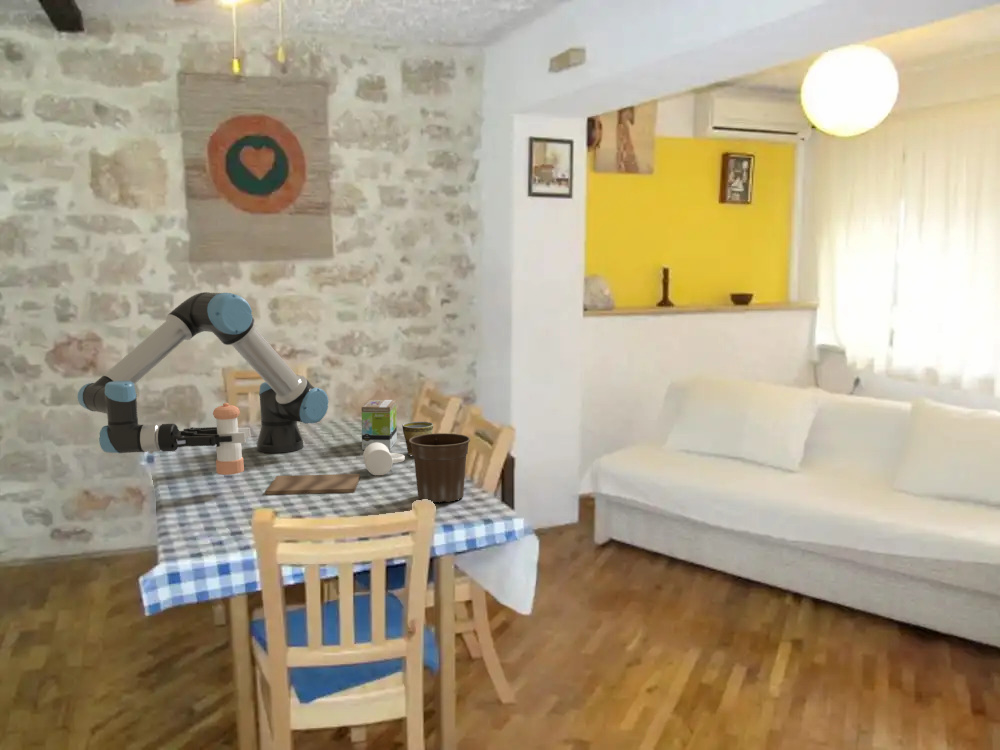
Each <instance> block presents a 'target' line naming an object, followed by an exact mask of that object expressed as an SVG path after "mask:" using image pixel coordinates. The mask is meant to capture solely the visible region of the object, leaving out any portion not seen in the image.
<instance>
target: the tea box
mask: <svg viewBox="0 0 1000 750" xmlns="http://www.w3.org/2000/svg"><path fill="white" fill-rule="evenodd" d="M397 414H398V413H397V400H396V399H369V400H367V401H366V402H365V403H364V404H363V405H362V406H361V450H365V449H366V447H367V446H368V445H370V444H372V443H376V442H378V443H382V444H384V445H385V446H386V447H387V448H388V450H389V451H390V450H391V449H392V447H393V446H394V445H395V443H396V442H397V439H398V435H397V434H398V433H397V432H398V431H397V430H398V427H397V422H398V421H397V420H398V419H397V418H398V417H397Z"/></svg>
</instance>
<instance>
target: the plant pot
mask: <svg viewBox="0 0 1000 750" xmlns="http://www.w3.org/2000/svg"><path fill="white" fill-rule="evenodd" d="M409 442H410V443H411V446H412V454H413V456H414V457H413V460H414V469H415V470H414V471H415V478H416V480H415V481H416V488H417V497H418V500H420V499H428V500H431V501H433V502H439V503H438V504H441V503H443V502H446V503H451V502H450V501H454V502H456V501H455V500H458V499H460V498H462V497H463V498H464V492H465V490H464V489H465V479H466V478H465V477H466V466H467V455H468V453H469V443H470V442H471V437H470V436H468V435H464V434H458V433H449V432H448V433H447V432H446V433H443V432H441V433H440V432H439V433H437V432H436V433H432V434H425V435H419V436H415V437H412V438H410V440H409ZM463 498H462V499H463ZM460 500H461V499H460ZM458 501H459V500H458ZM440 502H441V503H440Z"/></svg>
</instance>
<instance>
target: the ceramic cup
mask: <svg viewBox="0 0 1000 750" xmlns="http://www.w3.org/2000/svg"><path fill="white" fill-rule="evenodd" d="M401 427H402V433H403V437H404V440H405V444H406V449H407V455H408V456H409V455H412V456H413V454H412V446H411V443H410V442H409V440H410V438H412V437H415V436H419V435H425V434H433V430H434V423H432V422H429V421H409V422H405V423H403V424H402V426H401Z"/></svg>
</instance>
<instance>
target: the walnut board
mask: <svg viewBox="0 0 1000 750" xmlns="http://www.w3.org/2000/svg"><path fill="white" fill-rule="evenodd" d="M360 478H361V474H360V473H340V474H339V473H337V474H335V473H334V474H301V475H299V474H298V475H276V477H275V478H274V480H273V481H272V482H271V483H270V485H269V486H268V487H267V489H266V490H265V494H267V495H296V494H297V495H299V494H300V495H301V494H302V495H303V494H333V493H334V494H335V493H337V494H339V493H342V494H343V493H355V491H356V489H357V487H358V483H359V482H360Z"/></svg>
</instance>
